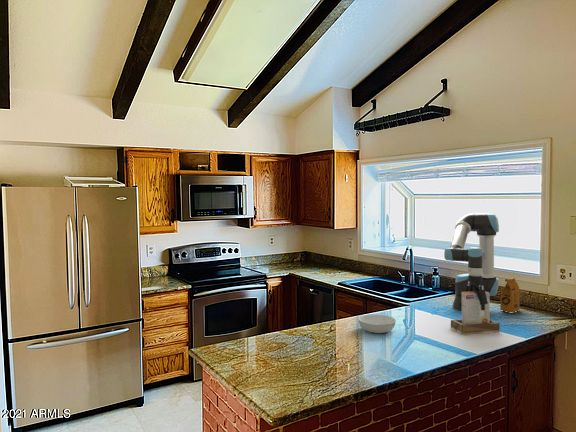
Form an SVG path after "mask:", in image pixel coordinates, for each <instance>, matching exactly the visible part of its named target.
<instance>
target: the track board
mask: <svg viewBox="0 0 576 432" xmlns="http://www.w3.org/2000/svg"><path fill="white" fill-rule="evenodd" d="M500 326H501V325H500V323H499V322H497V321H495V320H492V319H490V323H482V324H468V325H464V324H462V318H457V319H450V329H452V330H453V331H455V332H457V333H460V334H461V335H464V336H470V335H480V334H493V333H494V334H495V333H500Z"/></svg>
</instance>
